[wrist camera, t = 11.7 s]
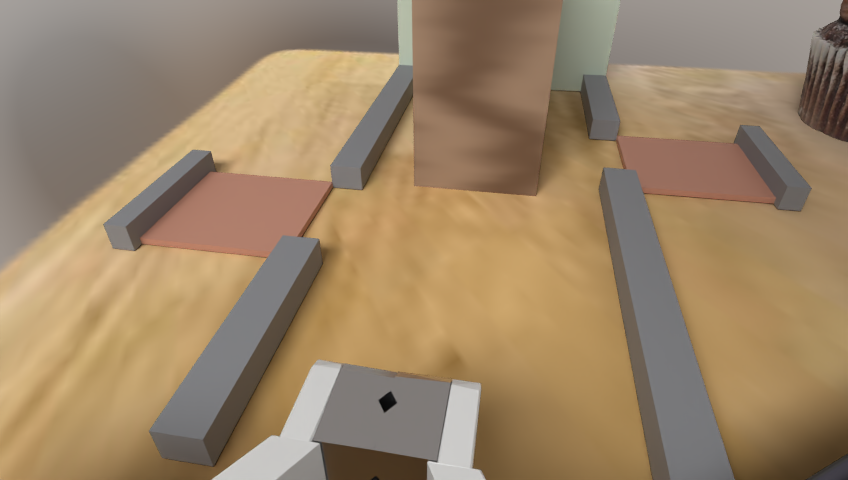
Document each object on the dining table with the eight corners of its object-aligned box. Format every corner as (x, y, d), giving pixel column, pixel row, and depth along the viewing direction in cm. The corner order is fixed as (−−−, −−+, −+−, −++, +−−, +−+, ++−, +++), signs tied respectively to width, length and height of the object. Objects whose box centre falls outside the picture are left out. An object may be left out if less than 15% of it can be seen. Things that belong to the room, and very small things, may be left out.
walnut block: (536, 95, 37) (559, -90, 31) (535, 197, 26) (571, -62, 20) (450, 91, 38) (455, -91, 32) (414, 186, 27) (410, -65, 20)
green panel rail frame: (708, 88, 38) (737, -3, 34) (1107, 618, 11) (1407, 453, 8) (312, 67, 42) (301, -16, 39) (-74, 418, 16) (-218, 252, 12)
